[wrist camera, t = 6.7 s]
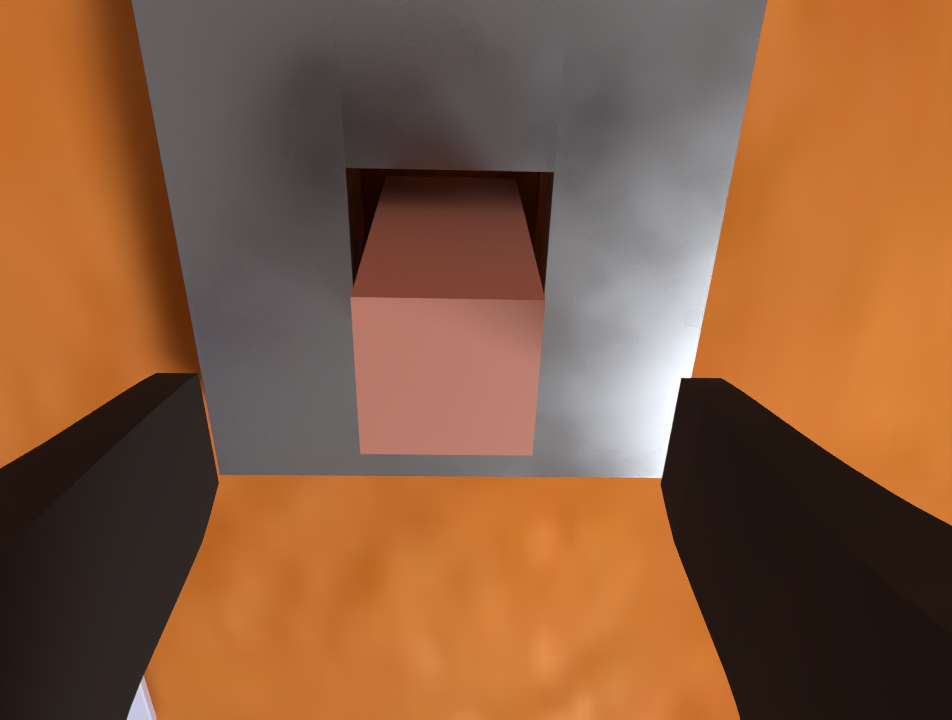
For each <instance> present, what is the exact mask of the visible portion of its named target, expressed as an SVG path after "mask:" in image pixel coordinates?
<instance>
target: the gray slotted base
mask: <svg viewBox="0 0 952 720" xmlns="http://www.w3.org/2000/svg"><path fill="white" fill-rule="evenodd" d="M131 1H132V6H133V12H134V17H135V22H136V28H137V33H138V38H139V44H140V49H141V54H142V60H143V65H144V70H145V76H146V81H147V87H148V92H149V97H150V103H151V108H152V113H153V119H154V124H155V129H156V135H157V140H158V145H159V151H160V156H161V161H162V167H163V172H164V177H165V183H166V188H167V193H168V199H169V204H170V209H171V215H172V220H173V225H174V231H175V236H176V241H177V247H178V252H179V258H180V263H181V268H182V274H183V279H184V284H185V290H186V295H187V300H188V306H189V311H190V316H191V322H192V327H193V332H194V338H195V343H196V348H197V354H198V359H199V364H200V370H201V375H202V380H203V386H204V391H205V396H206V402H207V407H208V412H209V418H210V423H211V429H212V434H213V439H214V445H215V450H216V455H217V461H218V466H219V471H220V475H348V476H494V477H639V478H662V475H663V470H664V465H665V459H666V454H667V449H668V444H669V439H670V433H671V428H672V423H673V418H674V413H675V407H676V402H677V397H678V392H679V386H680V381H681V378H691V375H692V370H693V365H694V360H695V355H696V350H697V345H698V340H699V335H700V330H701V325H702V320H703V315H704V311H705V306H706V301H707V296H708V291H709V286H710V281H711V276H712V271H713V266H714V261H715V256H716V251H717V246H718V241H719V236H720V231H721V226H722V221H723V216H724V211H725V206H726V201H727V196H728V191H729V186H730V181H731V177H732V172H733V167H734V162H735V157H736V152H737V147H738V142H739V137H740V132H741V127H742V122H743V117H744V112H745V107H746V102H747V97H748V92H749V87H750V82H751V77H752V72H753V67H754V62H755V57H756V52H757V47H758V43H759V38H760V33H761V28H762V23H763V18H764V13H765V8H766V3H767V0H131ZM361 168H378V169H427V170H477V171H527V172H540V186H539V200H538V214H537V229H536V243H535V260H536V264H537V268H538V272H539V276H540V280H541V284H542V288H543V293H544V297H545V311H544V323H543V335H542V346H541V358H540V370H539V382H538V394H537V406H536V418H535V430H534V442H533V454H532V456H524V455H415V454H360V442H359V426H358V410H357V394H356V378H355V362H354V345H353V329H352V313H351V294H352V290H353V287H354V283H355V280H356V277H357V273H358V270H359V266H360V263H361V260H362V256H363V253H364V249H365V239H364V220H363V201H362V182H361Z"/></svg>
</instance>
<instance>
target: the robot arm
mask: <svg viewBox="0 0 952 720" xmlns="http://www.w3.org/2000/svg"><path fill="white" fill-rule="evenodd" d="M218 484H219V482H218V477H217V471H216V466H215V461H214V455H213V450H212V445H211V439H210V434H209V429H208V423H207V418H206V413H205V407H204V402H203V397H202V391H201V386H200V381H199V375H198V373H156V374H154V375H152V376H150V377H148V378H146V379H144V380H143V381H141V382H139V383H137V384H136V385H134V386H132V387H131V388H129V389H128V390H126V391H124V392H123V393H121V394H120V395H118V396H116V397H115V398H113V399H112V400H110V401H109V402H107V403H106V404H104V405H103V406H101V407H99V408H98V409H96V410H95V411H93V412H92V413H90V414H89V415H87V416H85V417H84V418H82V419H81V420H79V421H78V422H76V423H74V424H73V425H71V426H70V427H68V428H67V429H65V430H63V431H62V432H60V433H59V434H57V435H56V436H54V437H53V438H51V439H49V440H48V441H46V442H45V443H43V444H41V445H40V446H38V447H36V448H35V449H33V450H31V451H29V452H28V453H26V454H24V455H23V456H21V457H19V458H17V459H16V460H14V461H12V462H11V463H9V464H7V465H6V466H4V467H2V468H0V720H156V714H155V711H154V708H153V704H152V701H151V698H150V695H149V691H148V688H147V685H146V682H145V678H144V673H145V671H146V668H147V666H148V664H149V662H150V659H151V657H152V655H153V653H154V650H155V648H156V646H157V644H158V641H159V639H160V637H161V635H162V632H163V630H164V628H165V626H166V623H167V621H168V619H169V617H170V615H171V612H172V610H173V608H174V606H175V603H176V601H177V599H178V597H179V594H180V592H181V590H182V588H183V585H184V583H185V581H186V578H187V576H188V574H189V572H190V569H191V567H192V565H193V562H194V560H195V558H196V555H197V553H198V551H199V548H200V546H201V544H202V541H203V538H204V534H205V531H206V528H207V524H208V521H209V518H210V514H211V510H212V506H213V503H214V499H215V495H216V491H217V488H218ZM661 489H662V493H663V498H664V502H665V507H666V511H667V516H668V520H669V523H670V527H671V531H672V535H673V539H674V543H675V545H676V548H677V551H678V554H679V556H680V559H681V561H682V564H683V567H684V569H685V572H686V574H687V577H688V580H689V582H690V585H691V587H692V590H693V592H694V595H695V597H696V600H697V602H698V605H699V607H700V610H701V613H702V615H703V618H704V620H705V623H706V625H707V628H708V630H709V633H710V635H711V638H712V640H713V643H714V645H715V648H716V650H717V653H718V655H719V658H720V660H721V663H722V666H723V668H724V671H725V673H726V676H727V679H728V682H729V685H730V688H731V691H732V693H733V696H734V699H735V702H736V705H737V709H738V712H739V716H740V720H952V526H951V525H949V524H947V523H946V522H944V521H942V520H940V519H938V518H936V517H934V516H932V515H931V514H929V513H927V512H925V511H923V510H921V509H919V508H917V507H916V506H914V505H912V504H910V503H909V502H907V501H905V500H904V499H902V498H900V497H898V496H897V495H895V494H893V493H892V492H890V491H888V490H887V489H885V488H884V487H882V486H880V485H879V484H877V483H876V482H874V481H872V480H871V479H869V478H867V477H866V476H864V475H863V474H861V473H859V472H858V471H856V470H855V469H853V468H852V467H850V466H848V465H847V464H845V463H844V462H842V461H841V460H839V459H838V458H836V457H835V456H833V455H832V454H830V453H829V452H827V451H826V450H825V449H823V448H822V447H820V446H819V445H817V444H816V443H814V442H813V441H811V440H810V439H809V438H807V437H806V436H804V435H803V434H801V433H800V432H799V431H797V430H796V429H794V428H793V427H792V426H790V425H789V424H787V423H786V422H785V421H783V420H782V419H780V418H779V417H778V416H776V415H775V414H773V413H772V412H771V411H769V410H768V409H766V408H765V407H764V406H762V405H761V404H759V403H758V402H757V401H755V400H754V399H752V398H751V397H750V396H748V395H747V394H745V393H744V392H742V391H741V390H739V389H738V388H736V387H735V386H733V385H732V384H730V383H728V382H727V381H725V380H723V379H722V378H681V381H680V386H679V392H678V397H677V402H676V407H675V413H674V418H673V423H672V428H671V433H670V439H669V444H668V449H667V454H666V459H665V465H664V470H663V475H662V480H661Z"/></svg>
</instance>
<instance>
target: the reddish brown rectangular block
mask: <svg viewBox="0 0 952 720" xmlns="http://www.w3.org/2000/svg"><path fill="white" fill-rule="evenodd" d="M544 311H545V297H544V293H543V288H542V284H541V280H540V276H539V272H538V268H537V264H536V260H535V256H534V251H533V247H532V243H531V239H530V235H529V231H528V227H527V223H526V218H525V214H524V210H523V206H522V202H521V198H520V194H519V190H518V186H517V181H516V179H504V178H459V177H413V176H386V178H385V181H384V185H383V188H382V192H381V195H380V198H379V202H378V205H377V209H376V212H375V215H374V219H373V222H372V226H371V229H370V232H369V236H368V239H367V243H366V246H365V249H364V253H363V256H362V260H361V263H360V266H359V270H358V273H357V277H356V280H355V283H354V287H353V290H352V294H351V313H352V329H353V345H354V362H355V378H356V394H357V410H358V426H359V442H360V454H415V455H524V456H532V454H533V442H534V430H535V418H536V406H537V394H538V382H539V370H540V358H541V346H542V335H543V323H544Z"/></svg>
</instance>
